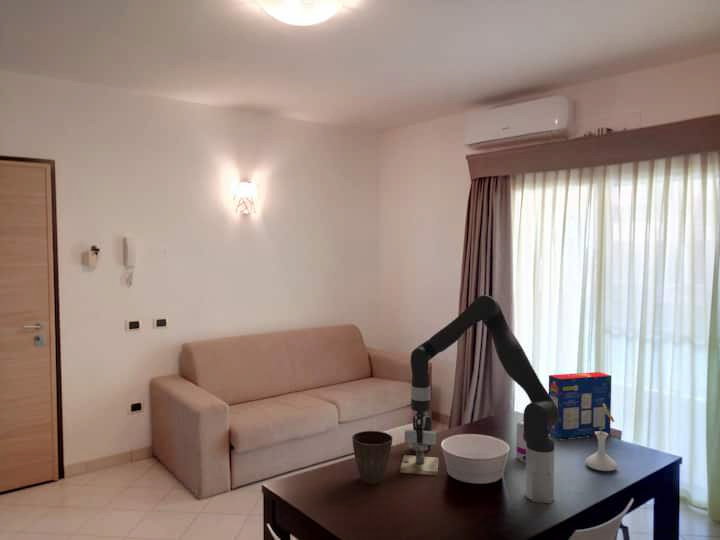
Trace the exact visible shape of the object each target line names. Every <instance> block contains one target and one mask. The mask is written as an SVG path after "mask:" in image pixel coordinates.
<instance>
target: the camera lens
mask: <svg viewBox="0 0 720 540" xmlns="http://www.w3.org/2000/svg"><path fill="white" fill-rule="evenodd" d="M416 413H417V412H416ZM416 413H414V414H413V416H412V417H413V418H412V430H416V426H415V423H416V419H415V415H416ZM425 413H426V418H425V424H424V428H423V429H424V431H432V429H433V428H432V427H433V417H432V414H431V413H428V412H425ZM431 447H432V445H428V450H427V451H428V452H430V450H431ZM424 453H426V452H425V451H424Z"/></svg>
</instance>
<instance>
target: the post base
mask: <svg viewBox="0 0 720 540" xmlns="http://www.w3.org/2000/svg"><path fill="white" fill-rule="evenodd" d="M439 459H440V458H439V457H435V456H434V457H431V456H425V452H418V451H415V455H407V454H404V455H403V458H402V461H401V465H400V469H399V471H400V473H401V474H402V473H403V474H404V473H405V474H416V475H427V476H438V471H439V461H440V460H439Z"/></svg>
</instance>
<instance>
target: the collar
mask: <svg viewBox="0 0 720 540" xmlns="http://www.w3.org/2000/svg"><path fill="white" fill-rule="evenodd" d="M436 435H437V432H436V431H433V430H431V431H423V442H422V443H417V433H416V430H413V429H404V444H408V448H409V449H412V450H413V451H415V452H416V451H418V452H424V451H427V450H428V445H431V446H435V445H436V443H437V442H436V441H437V436H436ZM424 453H425V452H424Z"/></svg>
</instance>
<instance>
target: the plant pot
mask: <svg viewBox="0 0 720 540" xmlns="http://www.w3.org/2000/svg"><path fill="white" fill-rule="evenodd" d="M351 438H352V439H351V441H352V448H353V454H354V458H355V463H356V467H357V471H358V474H359V476H360V479H361V482H363V483H364V484H368V485H377V484H381V482H382V481H383V479H384V475H385V474H386V473H385V472H386V471H387V470H386V469H387V466H388V464H389V459H390V455H391V450H392V445H393V440H394V439H393V436H392V435H391V434H389V433H387V432H383V431H377V430H365V431H359V432H356V433H354V434H353V435H351Z"/></svg>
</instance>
